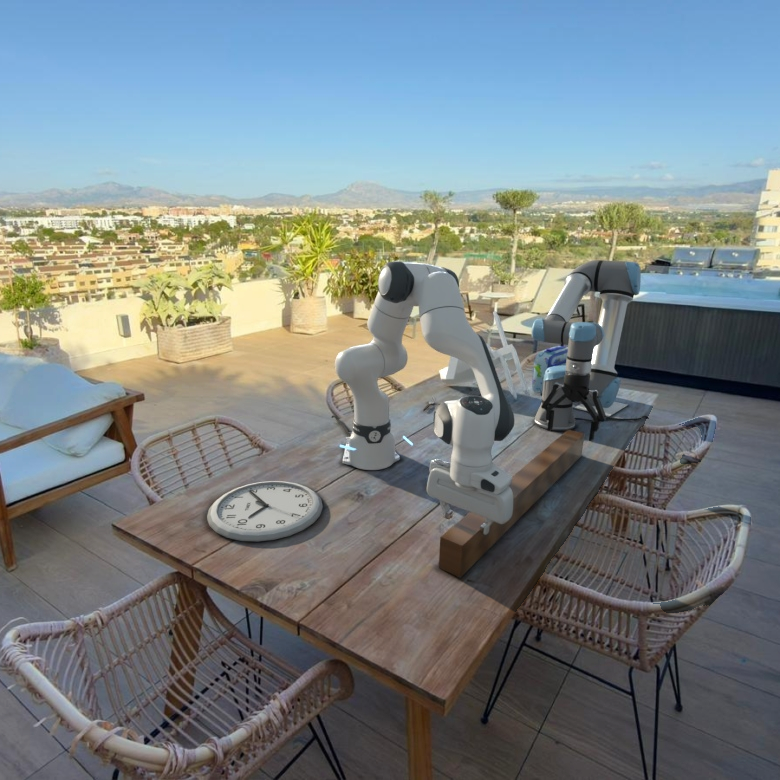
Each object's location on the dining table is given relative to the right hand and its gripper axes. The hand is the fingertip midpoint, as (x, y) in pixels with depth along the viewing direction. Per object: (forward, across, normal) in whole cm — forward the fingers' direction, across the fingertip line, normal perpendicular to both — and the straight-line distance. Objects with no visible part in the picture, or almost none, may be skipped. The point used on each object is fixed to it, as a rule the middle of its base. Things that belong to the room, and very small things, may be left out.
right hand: (570, 434), depth 171 cm
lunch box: (+11, -32, +72) cm, 80 cm away
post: (+8, 0, -35) cm, 36 cm away
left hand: (-2, -1, -69) cm, 69 cm away
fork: (+10, -65, +16) cm, 68 cm away
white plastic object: (+11, -58, +48) cm, 76 cm away
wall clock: (+7, -53, -83) cm, 99 cm away
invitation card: (+11, -7, +63) cm, 65 cm away
